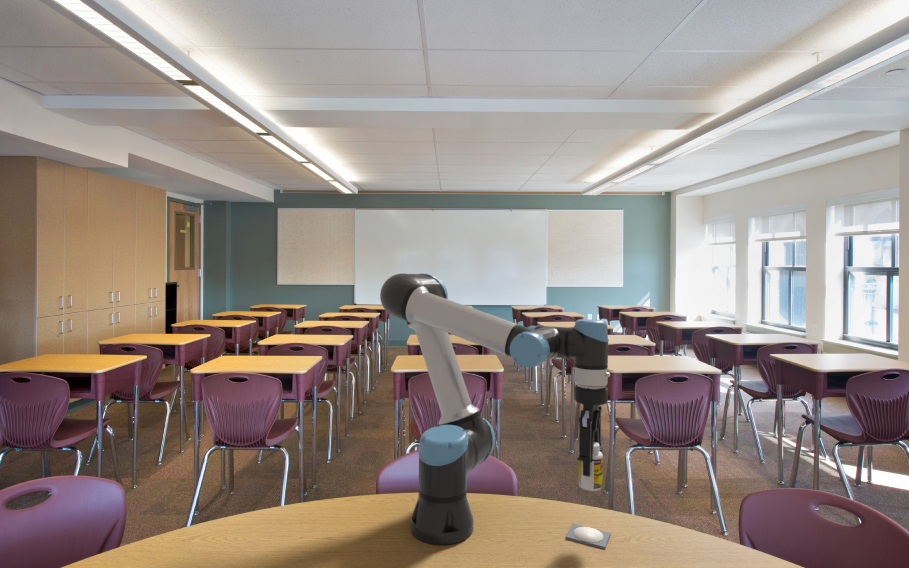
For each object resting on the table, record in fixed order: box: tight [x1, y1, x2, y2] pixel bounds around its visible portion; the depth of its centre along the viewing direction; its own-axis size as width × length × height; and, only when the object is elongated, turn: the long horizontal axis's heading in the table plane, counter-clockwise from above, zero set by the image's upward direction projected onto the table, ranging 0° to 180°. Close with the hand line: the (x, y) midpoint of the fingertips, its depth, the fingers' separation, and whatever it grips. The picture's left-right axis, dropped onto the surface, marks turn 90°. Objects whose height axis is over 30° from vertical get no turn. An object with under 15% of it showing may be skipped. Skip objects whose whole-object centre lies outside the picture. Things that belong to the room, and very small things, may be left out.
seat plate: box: [565, 523, 612, 550], centre depth 113 cm, size 9×7×1 cm
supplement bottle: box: [577, 442, 604, 492], centre depth 113 cm, size 6×6×10 cm
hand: (590, 483), depth 113 cm, fingers closed on supplement bottle, 6 cm apart
